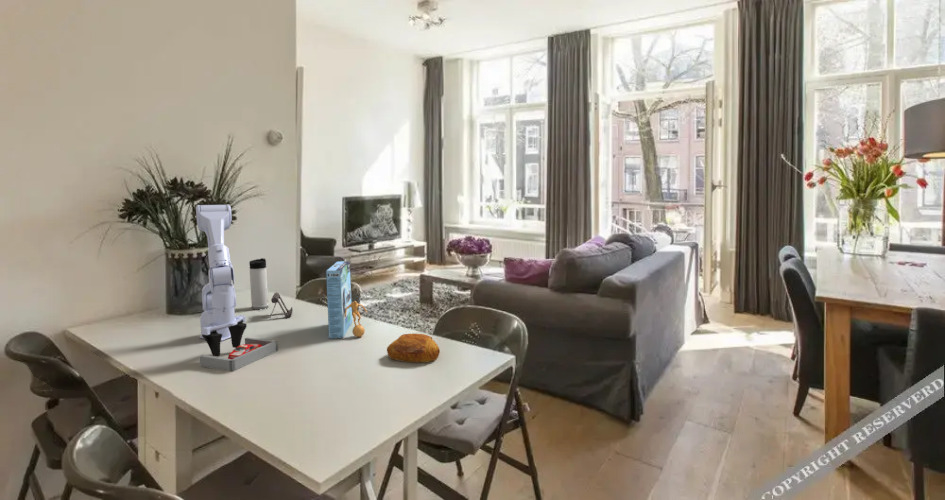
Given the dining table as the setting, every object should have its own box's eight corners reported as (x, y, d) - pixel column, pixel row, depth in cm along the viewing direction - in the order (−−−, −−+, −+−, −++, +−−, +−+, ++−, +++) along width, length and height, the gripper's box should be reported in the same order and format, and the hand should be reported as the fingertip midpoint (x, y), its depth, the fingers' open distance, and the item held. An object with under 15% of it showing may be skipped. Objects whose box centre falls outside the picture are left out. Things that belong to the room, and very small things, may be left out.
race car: (250, 350, 156) (249, 337, 155) (266, 350, 155) (266, 338, 155) (224, 365, 143) (223, 351, 142) (242, 366, 142) (241, 352, 142)
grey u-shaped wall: (200, 366, 141) (199, 356, 141) (247, 346, 158) (247, 337, 158) (232, 371, 138) (231, 360, 137) (277, 350, 154) (277, 341, 154)
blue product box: (343, 338, 167) (341, 270, 163) (327, 339, 166) (325, 270, 163) (352, 322, 186) (351, 261, 183) (338, 322, 185) (336, 261, 182)
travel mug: (272, 306, 207) (270, 258, 205) (260, 310, 201) (258, 261, 199) (260, 305, 210) (257, 257, 207) (248, 309, 203) (245, 260, 201)
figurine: (349, 340, 164) (348, 304, 163) (341, 336, 169) (340, 301, 167) (372, 335, 170) (371, 301, 168) (364, 331, 174) (363, 297, 173)
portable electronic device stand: (291, 318, 191) (290, 296, 189) (268, 319, 188) (267, 298, 187) (292, 312, 199) (291, 291, 198) (271, 313, 197) (270, 292, 196)
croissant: (429, 375, 142) (432, 348, 140) (379, 361, 146) (382, 335, 145) (446, 356, 156) (450, 332, 154) (401, 344, 160) (403, 321, 158)
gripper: (214, 314, 139) (217, 361, 141) (252, 302, 153) (255, 345, 155) (194, 312, 142) (198, 358, 144) (234, 300, 155) (236, 342, 157)
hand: (226, 351), depth 149 cm, fingers open, 7 cm apart
